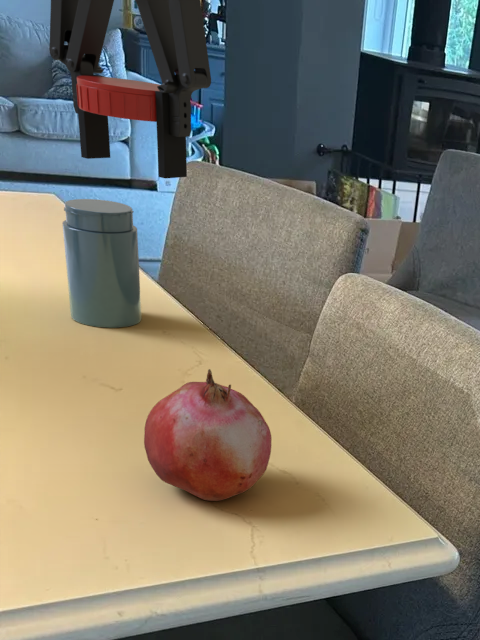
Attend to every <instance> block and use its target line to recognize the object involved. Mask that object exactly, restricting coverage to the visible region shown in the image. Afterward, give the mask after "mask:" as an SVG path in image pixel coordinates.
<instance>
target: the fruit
mask: <svg viewBox="0 0 480 640" xmlns="http://www.w3.org/2000/svg"><path fill="white" fill-rule="evenodd" d="M143 445H144V450H145V454H146V458H147V460H148V461H147V462H148V463H149V465H150V467H151V469H152V470H153V471H154V473H155V475H156V476H157V477H158V478H159V479H160V480H161V481H162V482H163V483H166V484H168V485H171V486H173V487H176V488H178V489H181V490H183V491H185V492H187V493H189V494H191V495H193V496H195V497H198V498H199V499H200V500H203V501H210V502H215V501H216V502H217V501H224V500H227V499H229V498H232V497H235V496H237V495H241V494H243V493H245V492H246V491H248V490H250V489H251V488H252V487H253V486H255V485H256V483H257V482H258V481H259V480H260V479H261V477H262V476H263V475H264V474H265V473H266V472H267V469H268V465H269V463H270V458H271V453H272V433H271V429H270V427H269V425H268V423H267V421H266V420H265V418H264V416H263V415H262V413H261V411H260V410H259V409H258V408H257V407H256V406H255V405H254V404H253V403H252V402H251V401H250V400H249V399H248V397H246V396H245V395H244V394H243V393H241V392H239V391H237V390H235V389H233V388H232V384H228V386H226V385H223V384H220V383H217V382H215V380H214V377H213V372H212V370H211V369H210V368H208V369H207V374H206V379H205V381H188V382H186V383H184V384H182V385H181V386H180V387H179V388H177V389H175V390H174V391H173V392H171V393H170V394H168V395H166V396H165V397H163V398H162V399H160V400H159V401H158V402H157V403H156V404H155V405H154V406H153V407H152V408H151V410H150V411H149V413H148V415H147V417H146V419H145V425H144V435H143Z"/></svg>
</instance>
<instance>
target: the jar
mask: <svg viewBox="0 0 480 640" xmlns="http://www.w3.org/2000/svg"><path fill="white" fill-rule="evenodd" d="M63 211H64V212H65V220H63V221H62V231H63V232H62V234H63V244H64V255H65V265H66V266H65V267H66V278H67V279H66V280H67V289H68V301H69V311H70V318H71V319H72V320H73V321H75V322H76V323H79V324H82V325H85V326H90V327H97V328H106V329H107V328H109V329H111V328H112V329H113V328H114V329H115V328H127V327H132V326H135V325H138V324H139V323H140V322H141V321H142V301H141V300H142V299H141V280H140V279H141V278H140V263H139V262H140V259H139V238H138V228H137V226H135V224H134V210H133V208H132V207H131V206H130V205H128V204H125V203H122V202H117V201H113V200H105V199H96V198H76V199H69V200H67V201H65V202H64V207H63Z"/></svg>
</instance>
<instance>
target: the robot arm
mask: <svg viewBox="0 0 480 640" xmlns="http://www.w3.org/2000/svg"><path fill="white" fill-rule="evenodd" d="M134 1H135V3H136V6H137V9H138V12H139V15H140V18H141V21H142V25H143V27H144V31H145V33H146V36H147V40H148V43H149V47H150V49H151V52H152V56H153V59H154V62H155V64H156V68H157V72H158V74H159V77H160V80H161V84H159V86H157V88H158V90H159V91H155V96H156V122H155V123H156V143H157V144H156V147H157V170H158V171H157V172H158V178H162V179H176V178H177V179H179V178H187V177H188V169H187V168H188V167H187V164H188V163H187V161H188V160H187V138H188V137H190V136H191V133H192V100H191V99H192V95H193V93H194V92H195V91H198V90H201V89H208V88H210V86H211V85H212V77H211V68H210V60H209V54H208V46H207V38H206V31H205V24H204V17H203V10H202V9H203V8H202V3H201V0H134ZM114 3H115V0H50V14H49V15H50V17H49V18H50V20H49V54H50V57H51V58H52V59H53V60H54V61H59V62H61V63H62V64H63V65H65V66H66V69H67V70H68V71H69V73H70V79H71V92H72V104H73V105H72V106H73V109H74V111H75V112H74V113H75V114H77V120H78V133H79V143H80V144H79V146H80V154H81V155H80V156H81V158H82V159H83V158H84V159H87V160H89V159H90V160H91V159H92V160H93V159H111V145H110V144H111V143H110V142H111V141H110V128H109V116H105V115H100V114H95V113H91V112H87V111H84V110H82V109H80V108H79V106H78V101H77V88H76V84H77V76H100V77H106V76H105V75H100V74H102V73H104V69H103V68H102V67H101V66H100V65H99V63H100V60H101V55H102V52H103V49H104V48H103V47H104V44H105V39H106V35H107V31H108V26H109V23H110V18H111V15H112V10H113V7H114ZM65 43H67V44H65Z"/></svg>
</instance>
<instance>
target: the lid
mask: <svg viewBox="0 0 480 640" xmlns="http://www.w3.org/2000/svg"><path fill="white" fill-rule="evenodd" d="M100 76H101V75H100ZM100 76H77V84H76V88H77V101H78V106H79V108H80V109H82V110H84V111H87V112H91V113H95V114H100V115H105V116H108V117H111V118H117V119H125V120H133V121H139V122H140V121H142V122H150V123H151V122H153V123H156V96H155V91H159V90H158V88H157V86H159V85H160V83H153V82H147V81H141V80H134V79H127V78H119V77H109V76H105V77H100Z"/></svg>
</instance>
